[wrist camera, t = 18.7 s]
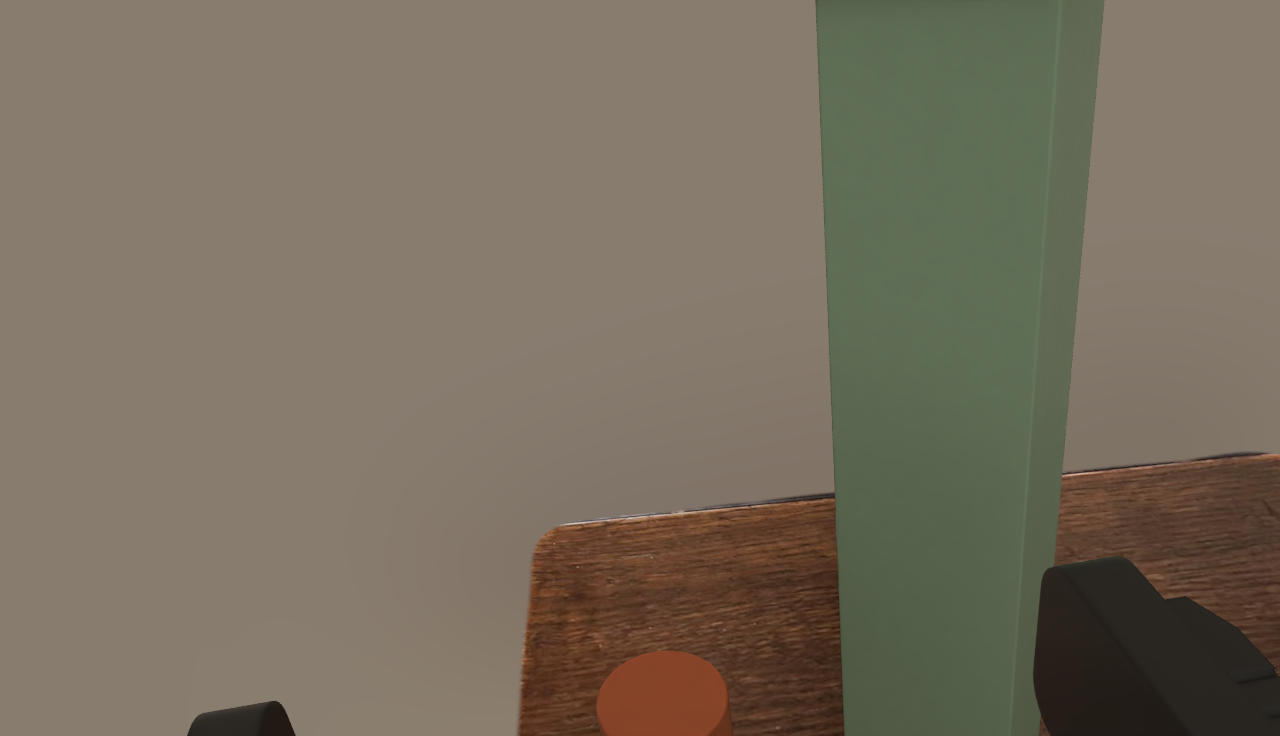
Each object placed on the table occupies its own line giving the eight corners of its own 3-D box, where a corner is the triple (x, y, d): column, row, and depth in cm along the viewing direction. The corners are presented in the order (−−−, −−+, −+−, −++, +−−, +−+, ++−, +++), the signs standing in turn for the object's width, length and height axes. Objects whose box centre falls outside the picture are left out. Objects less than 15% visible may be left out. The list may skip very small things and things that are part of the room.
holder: (1022, 961, 31) (1129, -190, 16) (809, 869, 34) (740, -142, 20) (1068, 787, 36) (1181, -206, 21) (879, 723, 39) (864, -166, 25)
